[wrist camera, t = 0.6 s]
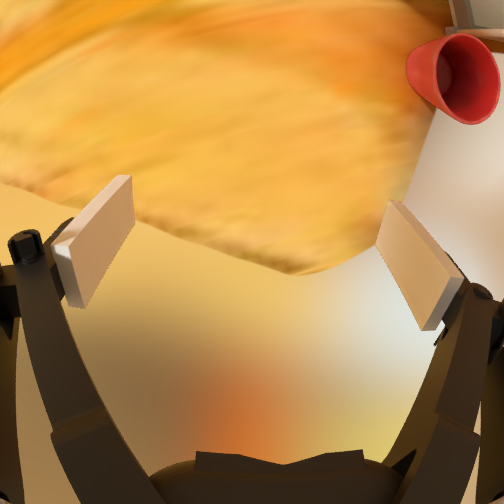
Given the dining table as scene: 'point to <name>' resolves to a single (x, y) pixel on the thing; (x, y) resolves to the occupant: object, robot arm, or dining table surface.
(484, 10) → the case
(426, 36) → the dining table surface
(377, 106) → the dining table surface
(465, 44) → the flower pot
